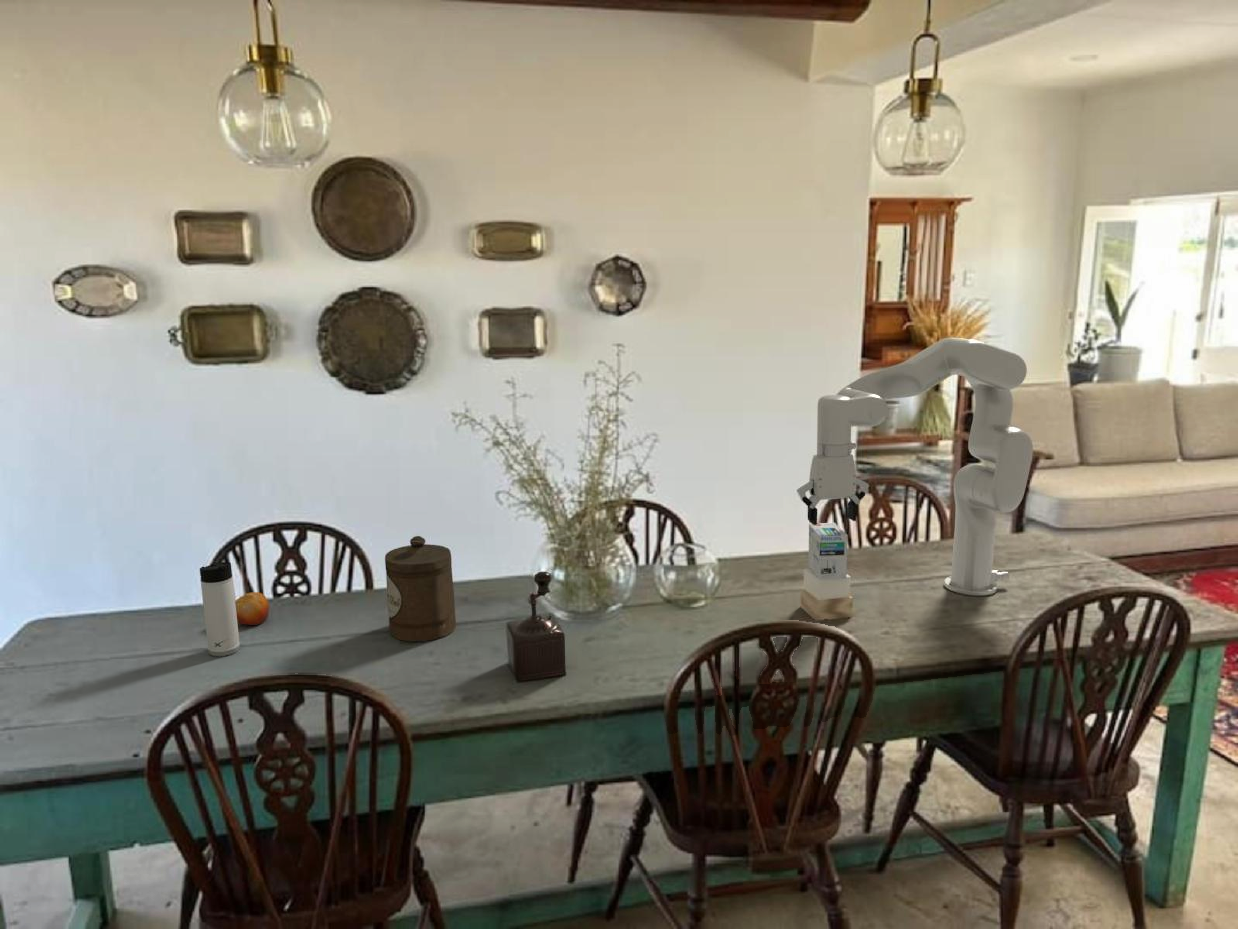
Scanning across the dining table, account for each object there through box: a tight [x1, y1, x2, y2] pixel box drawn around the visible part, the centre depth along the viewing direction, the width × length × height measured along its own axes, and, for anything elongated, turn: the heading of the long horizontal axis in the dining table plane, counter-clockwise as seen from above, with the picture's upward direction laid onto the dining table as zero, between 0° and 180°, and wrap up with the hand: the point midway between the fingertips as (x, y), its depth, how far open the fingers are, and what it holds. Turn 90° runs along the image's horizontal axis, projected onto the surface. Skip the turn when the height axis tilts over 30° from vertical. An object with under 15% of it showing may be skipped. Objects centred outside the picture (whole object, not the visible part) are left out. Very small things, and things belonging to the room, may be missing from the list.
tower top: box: [802, 567, 852, 600], centre depth 220 cm, size 8×8×5 cm
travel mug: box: [199, 561, 241, 657], centre depth 200 cm, size 6×7×20 cm
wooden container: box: [384, 535, 457, 643], centre depth 211 cm, size 15×15×22 cm
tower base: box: [800, 587, 854, 622], centre depth 221 cm, size 9×9×5 cm
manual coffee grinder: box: [505, 571, 567, 684], centre depth 193 cm, size 16×11×18 cm
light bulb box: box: [807, 522, 848, 580], centre depth 218 cm, size 11×7×11 cm, turn 3°
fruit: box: [235, 591, 270, 626], centre depth 218 cm, size 8×8×8 cm
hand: (832, 521), depth 217 cm, fingers open, 9 cm apart
